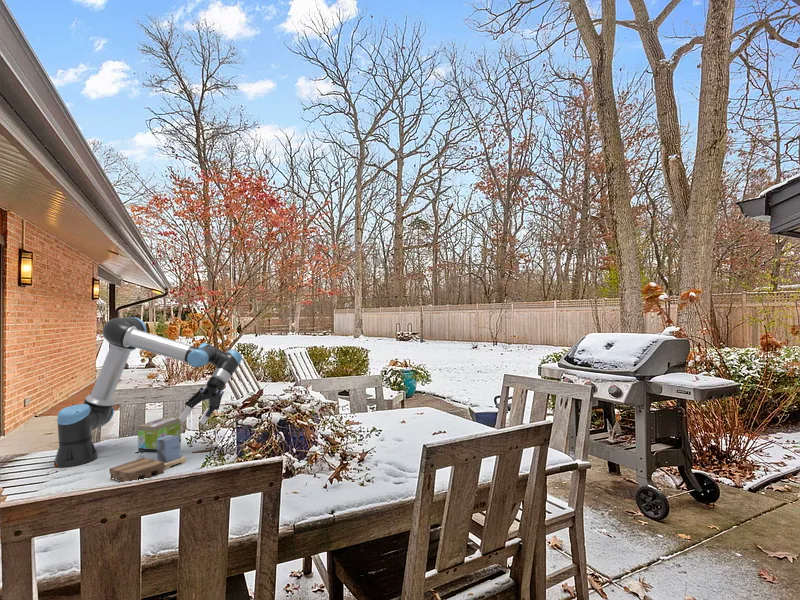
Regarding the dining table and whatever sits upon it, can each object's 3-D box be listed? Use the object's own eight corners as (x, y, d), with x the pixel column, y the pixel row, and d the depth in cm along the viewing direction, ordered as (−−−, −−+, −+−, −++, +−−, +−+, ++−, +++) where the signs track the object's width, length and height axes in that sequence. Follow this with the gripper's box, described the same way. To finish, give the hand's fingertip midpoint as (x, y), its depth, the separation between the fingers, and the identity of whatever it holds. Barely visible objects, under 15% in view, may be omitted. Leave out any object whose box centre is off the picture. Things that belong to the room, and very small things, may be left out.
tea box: (158, 461, 195) (156, 426, 195) (138, 460, 197) (136, 426, 197) (182, 449, 209) (180, 416, 209) (162, 449, 211) (161, 416, 211)
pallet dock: (110, 479, 176) (109, 468, 176) (143, 467, 187) (143, 457, 187) (130, 484, 169) (130, 473, 169) (164, 472, 180) (163, 462, 180)
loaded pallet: (152, 466, 188) (150, 439, 188) (172, 459, 195) (171, 433, 195) (165, 469, 183) (164, 442, 183) (186, 462, 191) (184, 435, 191)
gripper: (242, 386, 208) (215, 428, 195) (206, 384, 220) (178, 423, 207) (232, 376, 203) (204, 419, 190) (195, 374, 216) (167, 414, 203)
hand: (190, 421), depth 199 cm, fingers open, 13 cm apart
